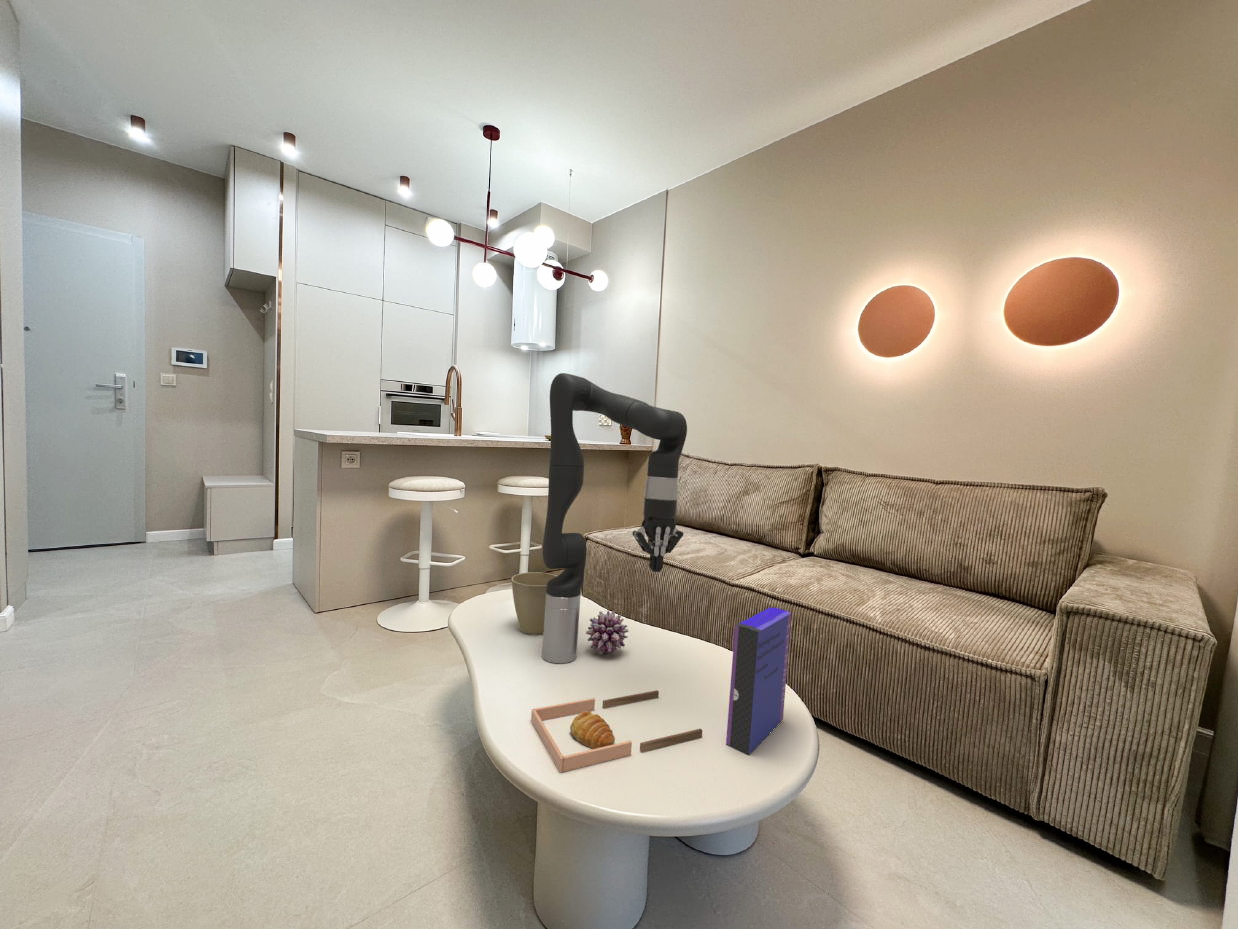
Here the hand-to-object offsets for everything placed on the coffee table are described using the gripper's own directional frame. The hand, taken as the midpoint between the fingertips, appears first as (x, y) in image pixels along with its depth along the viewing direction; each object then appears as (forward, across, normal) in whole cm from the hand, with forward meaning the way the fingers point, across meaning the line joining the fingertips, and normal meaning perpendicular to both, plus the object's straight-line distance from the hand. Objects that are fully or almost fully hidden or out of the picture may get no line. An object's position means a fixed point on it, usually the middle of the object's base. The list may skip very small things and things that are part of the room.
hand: (655, 571), depth 113 cm
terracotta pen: (+29, +21, +10) cm, 37 cm away
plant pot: (+29, +13, -46) cm, 56 cm away
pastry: (+30, +18, +11) cm, 36 cm away
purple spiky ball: (+29, -1, -24) cm, 38 cm away
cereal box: (+29, -14, +21) cm, 39 cm away
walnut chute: (+29, +5, +10) cm, 31 cm away
